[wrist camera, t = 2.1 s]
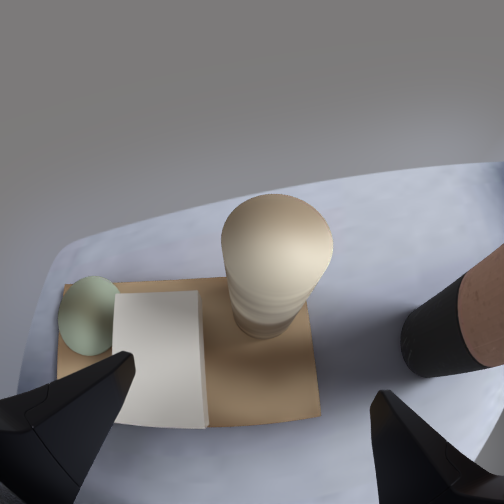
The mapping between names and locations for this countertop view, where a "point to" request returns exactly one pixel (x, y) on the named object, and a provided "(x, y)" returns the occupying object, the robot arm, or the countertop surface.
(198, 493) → the countertop surface
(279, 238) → the roller
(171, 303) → the slab
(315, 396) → the wooden board
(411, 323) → the travel mug
